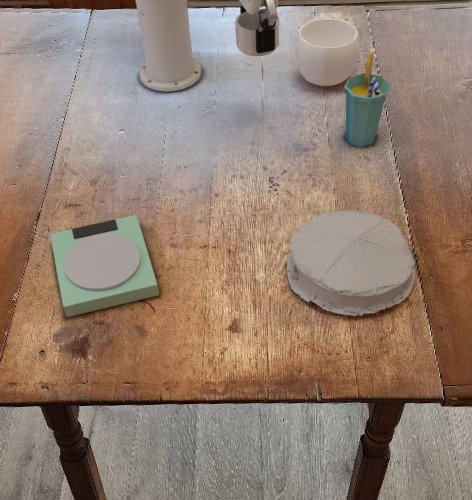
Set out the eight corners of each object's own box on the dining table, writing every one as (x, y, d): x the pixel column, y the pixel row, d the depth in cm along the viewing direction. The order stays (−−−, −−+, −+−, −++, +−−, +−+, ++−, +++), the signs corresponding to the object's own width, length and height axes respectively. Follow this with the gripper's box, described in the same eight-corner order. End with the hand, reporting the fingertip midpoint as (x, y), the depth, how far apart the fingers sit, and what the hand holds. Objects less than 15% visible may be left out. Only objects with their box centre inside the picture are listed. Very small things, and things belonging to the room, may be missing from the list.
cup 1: (358, 64, 139) (363, 17, 131) (353, 98, 131) (359, 51, 124) (298, 60, 140) (299, 14, 133) (290, 94, 133) (291, 47, 125)
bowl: (231, 39, 119) (230, 14, 115) (270, 31, 120) (270, 6, 116) (244, 60, 114) (243, 35, 111) (284, 52, 115) (285, 26, 112)
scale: (53, 244, 109) (49, 231, 107) (138, 225, 111) (136, 211, 109) (66, 317, 100) (61, 304, 98) (159, 295, 102) (156, 281, 100)
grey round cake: (264, 245, 108) (263, 213, 102) (375, 210, 112) (380, 177, 106) (320, 337, 96) (323, 306, 91) (441, 294, 100) (451, 262, 95)
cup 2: (389, 164, 119) (402, 87, 107) (344, 166, 119) (353, 89, 107) (376, 117, 127) (387, 40, 115) (335, 119, 127) (342, 43, 115)
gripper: (215, -91, 107) (221, 19, 121) (250, -46, 96) (253, 69, 110) (260, -99, 108) (261, 11, 122) (300, -55, 97) (296, 60, 111)
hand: (257, 38), depth 116 cm, fingers closed on bowl, 7 cm apart
